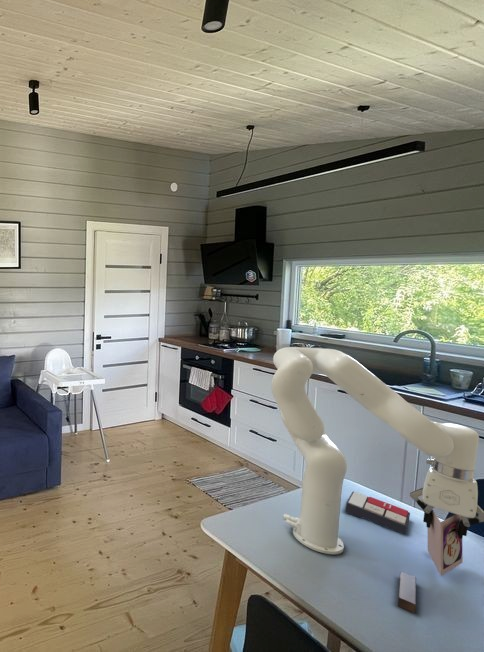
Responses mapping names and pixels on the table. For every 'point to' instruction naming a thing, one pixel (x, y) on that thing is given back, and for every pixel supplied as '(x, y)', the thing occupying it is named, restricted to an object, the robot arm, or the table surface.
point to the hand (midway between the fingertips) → (443, 530)
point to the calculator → (378, 512)
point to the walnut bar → (407, 592)
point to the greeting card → (445, 543)
